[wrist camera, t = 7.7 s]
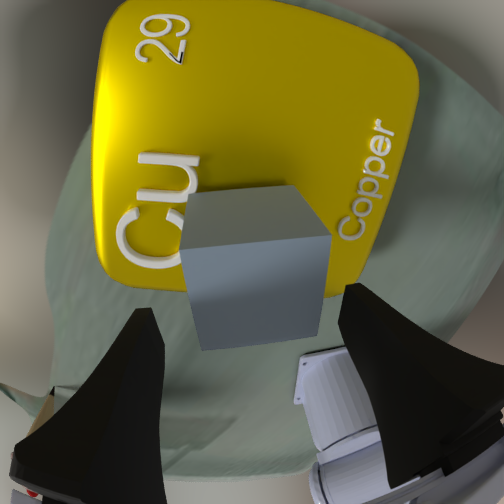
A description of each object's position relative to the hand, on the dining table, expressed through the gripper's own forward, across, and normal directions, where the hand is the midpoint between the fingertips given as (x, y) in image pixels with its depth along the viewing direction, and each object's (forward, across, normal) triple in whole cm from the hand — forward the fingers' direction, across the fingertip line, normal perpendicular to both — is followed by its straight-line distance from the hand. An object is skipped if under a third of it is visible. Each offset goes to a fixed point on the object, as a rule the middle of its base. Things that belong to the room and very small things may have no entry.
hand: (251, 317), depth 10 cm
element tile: (+9, -1, -4) cm, 10 cm away
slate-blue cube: (+4, 0, -1) cm, 4 cm away
